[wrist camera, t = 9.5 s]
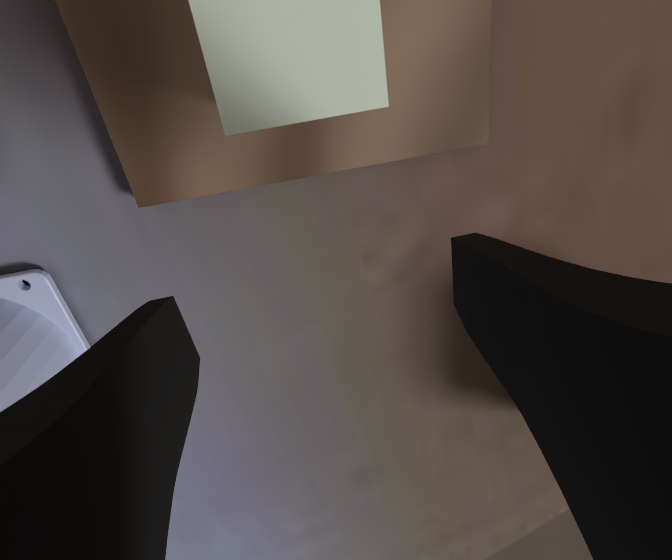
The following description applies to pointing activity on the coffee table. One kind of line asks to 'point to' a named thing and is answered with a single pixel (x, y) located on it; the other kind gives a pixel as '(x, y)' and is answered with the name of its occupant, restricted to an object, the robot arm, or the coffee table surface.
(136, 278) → the coffee table surface
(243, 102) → the sage cube
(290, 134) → the walnut board
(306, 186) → the coffee table surface
